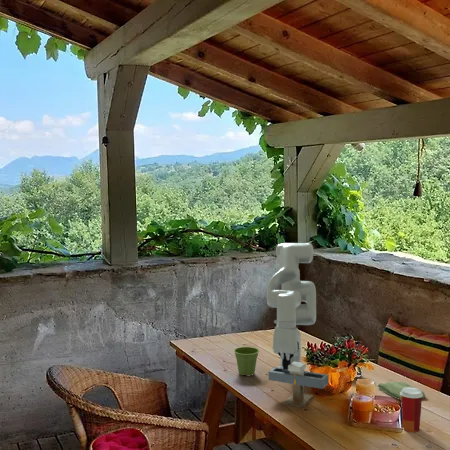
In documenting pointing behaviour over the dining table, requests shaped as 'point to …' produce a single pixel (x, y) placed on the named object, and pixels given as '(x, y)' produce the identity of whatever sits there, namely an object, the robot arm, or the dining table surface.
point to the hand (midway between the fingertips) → (286, 368)
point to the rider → (297, 368)
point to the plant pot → (246, 359)
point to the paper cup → (411, 408)
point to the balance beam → (299, 384)
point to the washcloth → (395, 388)
